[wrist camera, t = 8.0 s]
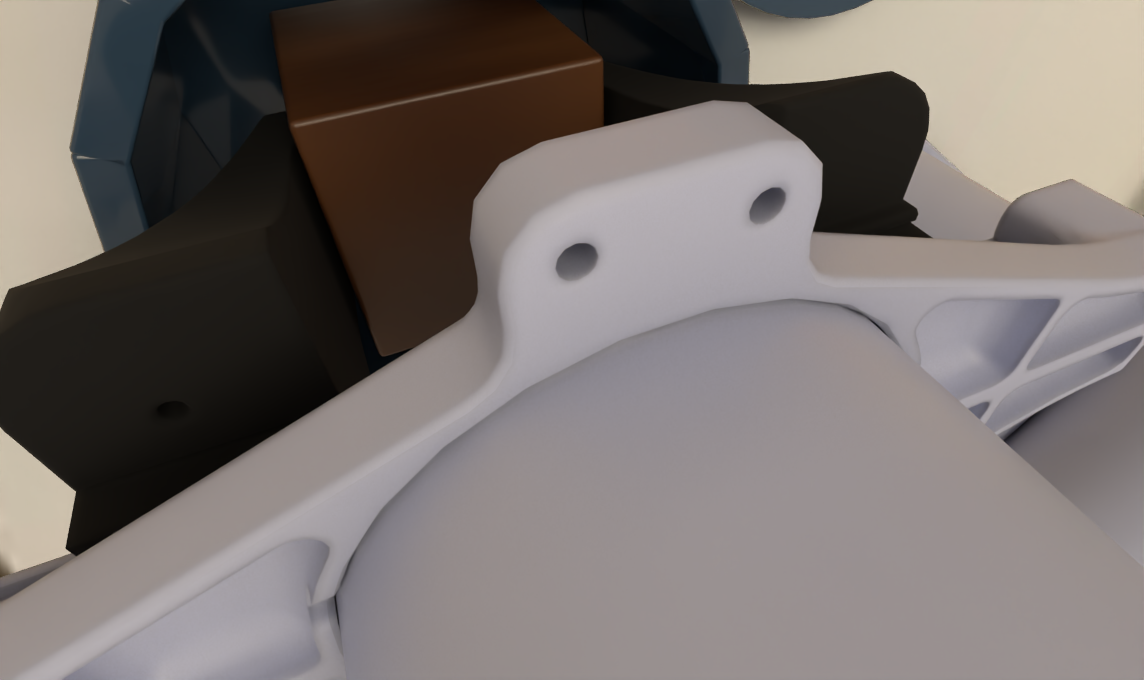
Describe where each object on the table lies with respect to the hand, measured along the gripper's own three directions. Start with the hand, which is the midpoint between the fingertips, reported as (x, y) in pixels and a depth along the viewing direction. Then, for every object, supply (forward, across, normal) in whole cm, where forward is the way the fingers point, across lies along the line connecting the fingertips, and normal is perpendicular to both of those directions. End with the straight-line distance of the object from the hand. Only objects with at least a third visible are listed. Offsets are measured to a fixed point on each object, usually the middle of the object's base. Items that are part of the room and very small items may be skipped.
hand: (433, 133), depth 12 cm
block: (+1, 0, 0) cm, 1 cm away
